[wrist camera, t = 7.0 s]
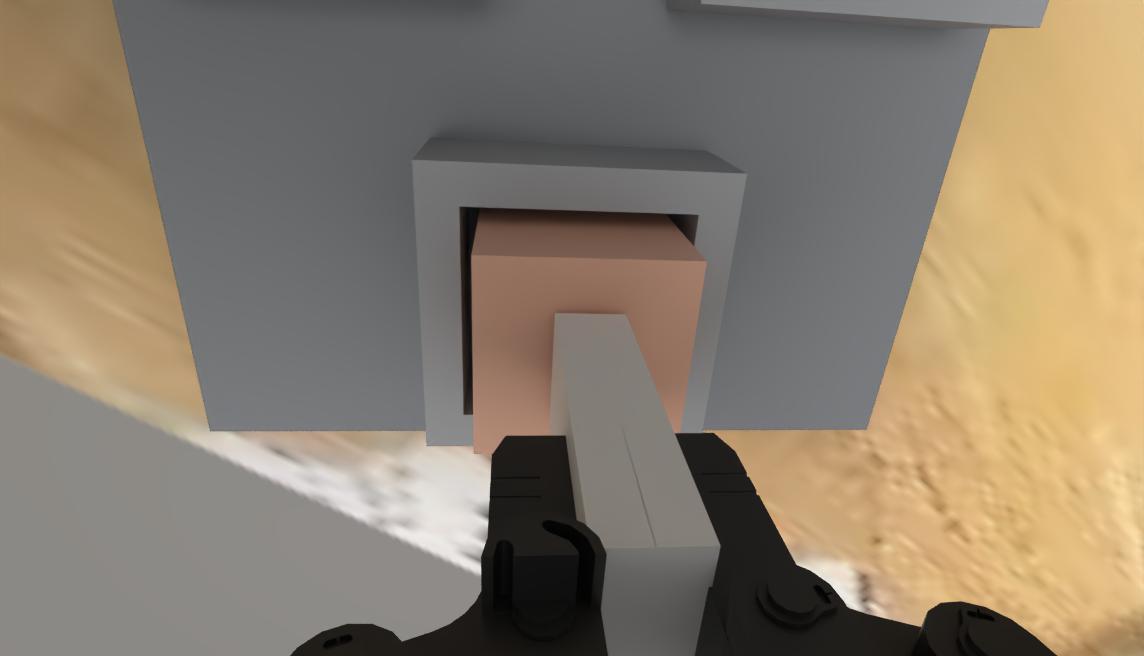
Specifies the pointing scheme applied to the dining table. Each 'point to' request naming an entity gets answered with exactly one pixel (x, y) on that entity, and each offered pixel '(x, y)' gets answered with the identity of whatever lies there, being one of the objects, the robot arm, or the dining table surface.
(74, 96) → the dining table surface
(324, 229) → the console
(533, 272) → the terracotta key
